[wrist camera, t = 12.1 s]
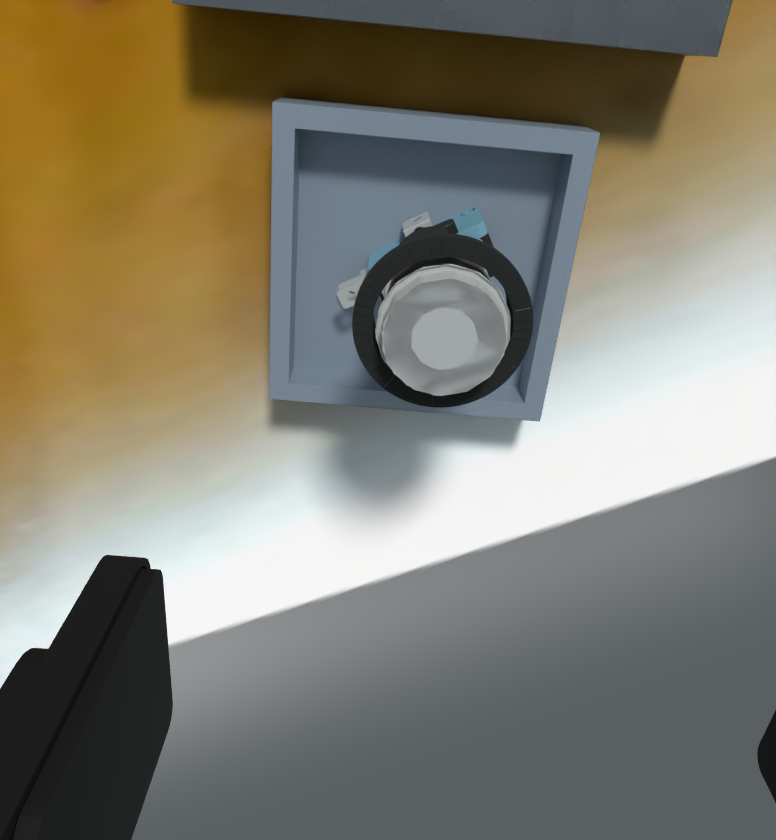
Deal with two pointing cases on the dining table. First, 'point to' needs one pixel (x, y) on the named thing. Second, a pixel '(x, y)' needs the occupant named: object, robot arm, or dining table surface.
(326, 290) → the tray
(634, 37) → the block
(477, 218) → the push button
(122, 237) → the dining table surface
